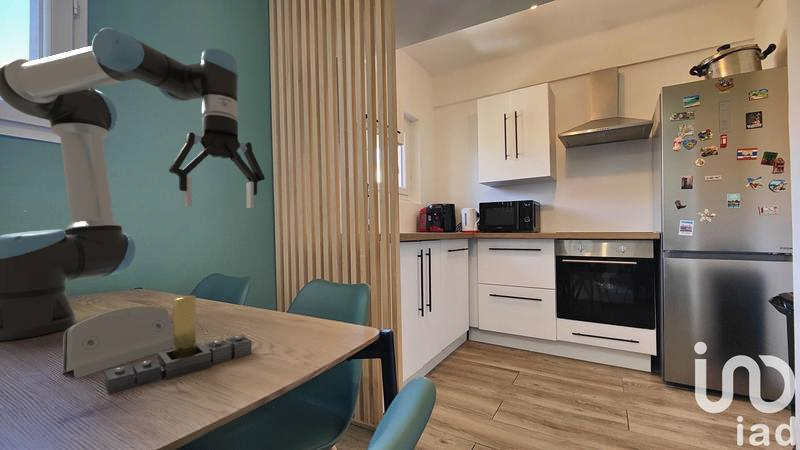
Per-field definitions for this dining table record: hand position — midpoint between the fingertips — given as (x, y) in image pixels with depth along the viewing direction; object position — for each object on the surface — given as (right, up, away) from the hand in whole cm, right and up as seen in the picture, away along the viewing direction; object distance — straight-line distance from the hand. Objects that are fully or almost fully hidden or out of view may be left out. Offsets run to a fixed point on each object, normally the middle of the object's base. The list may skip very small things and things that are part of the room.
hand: (220, 207), depth 79 cm
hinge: (-9, -29, -17) cm, 35 cm away
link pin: (+6, -29, -23) cm, 37 cm away
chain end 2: (+9, -29, -20) cm, 36 cm away
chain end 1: (+4, -29, -25) cm, 38 cm away
